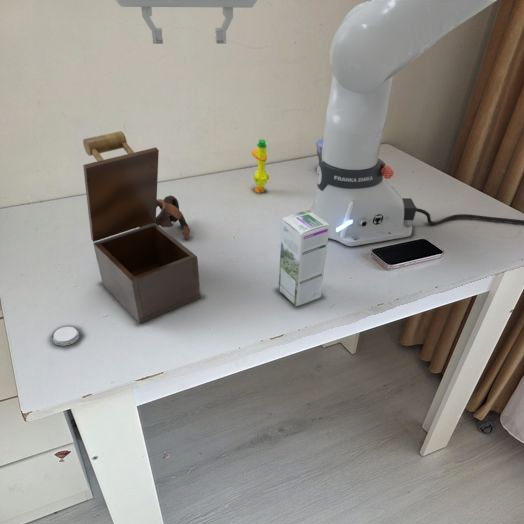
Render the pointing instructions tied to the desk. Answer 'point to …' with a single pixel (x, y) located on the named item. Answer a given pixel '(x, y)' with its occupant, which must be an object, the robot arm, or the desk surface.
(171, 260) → the box
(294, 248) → the syrup box
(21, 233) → the desk surface
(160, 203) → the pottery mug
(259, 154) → the toy figure
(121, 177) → the chest lid
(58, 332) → the white flat disc
